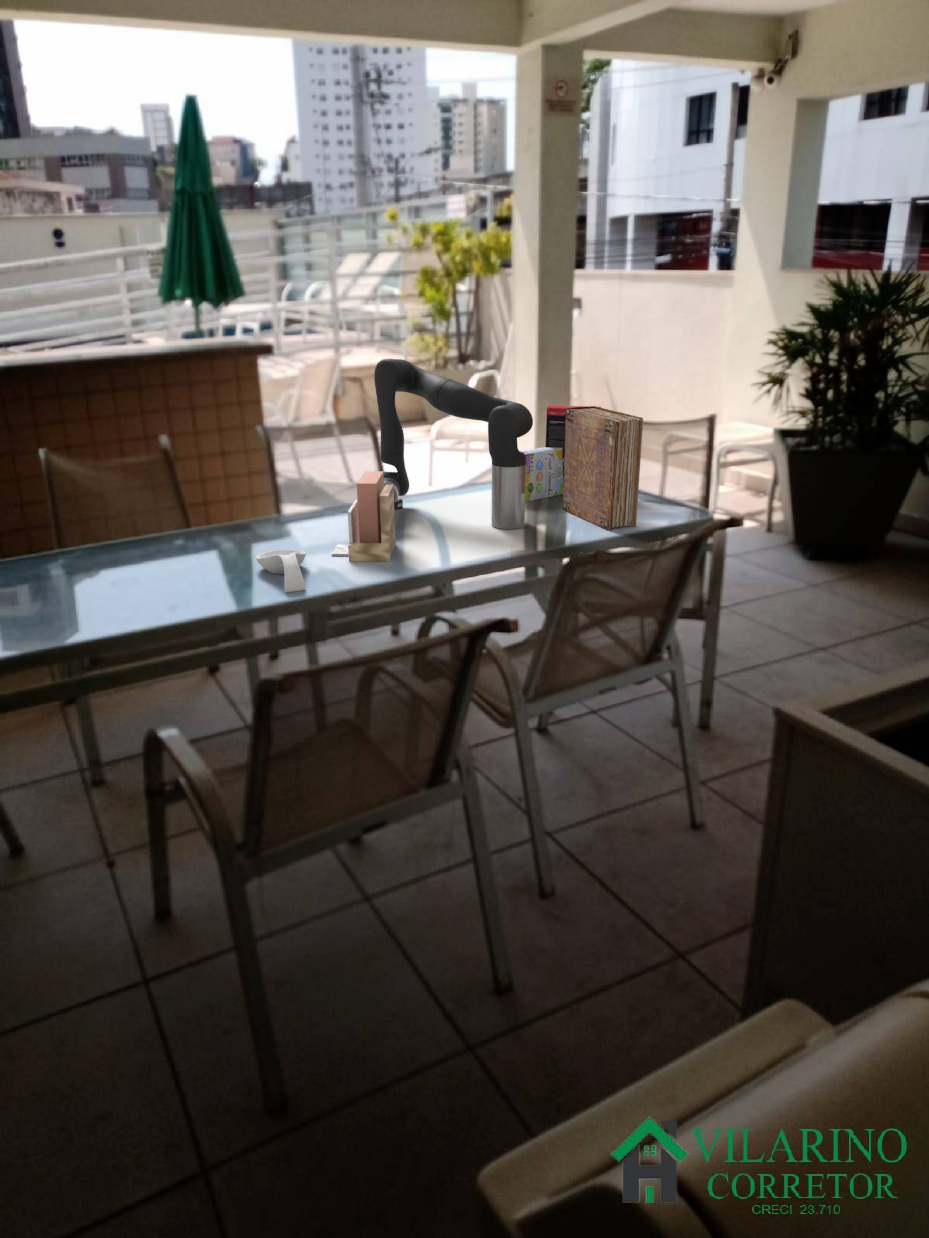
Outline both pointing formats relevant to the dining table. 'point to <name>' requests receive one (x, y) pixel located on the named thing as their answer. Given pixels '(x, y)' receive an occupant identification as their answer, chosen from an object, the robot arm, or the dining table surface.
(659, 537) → the dining table surface
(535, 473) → the snack box
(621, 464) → the book
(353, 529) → the bookend
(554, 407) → the graphics card box
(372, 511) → the book
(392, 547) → the board
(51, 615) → the dining table surface
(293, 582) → the spoon rest
